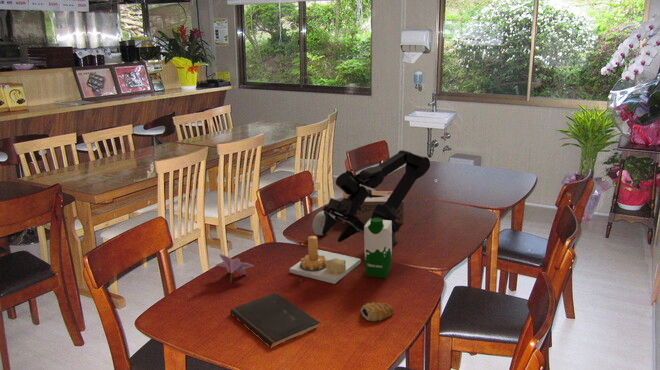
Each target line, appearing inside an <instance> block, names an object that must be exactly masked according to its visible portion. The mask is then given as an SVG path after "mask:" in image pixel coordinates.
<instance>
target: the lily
mask: <svg viewBox="0 0 660 370" xmlns="http://www.w3.org/2000/svg"><path fill="white" fill-rule="evenodd" d="M219 257H220V258H221V260H222V261H223V262H219V263H216V264H215V265H216V266H218V267H223V268H226V270H227V272H228V273H229V274H230V278H229V279H230V280H229V281H230V282H229V283H231V284H232V275H233V272H238V273H241V274H243V275H245V276H247V275H248V274H247V271H246V270H245V269H248V268H252V267H254V266H255V265H254V264H251V263H249V262H241V260H240V257H236V258H234V259H233V258H231V257H230V256H226V255H224V254H219Z"/></svg>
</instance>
